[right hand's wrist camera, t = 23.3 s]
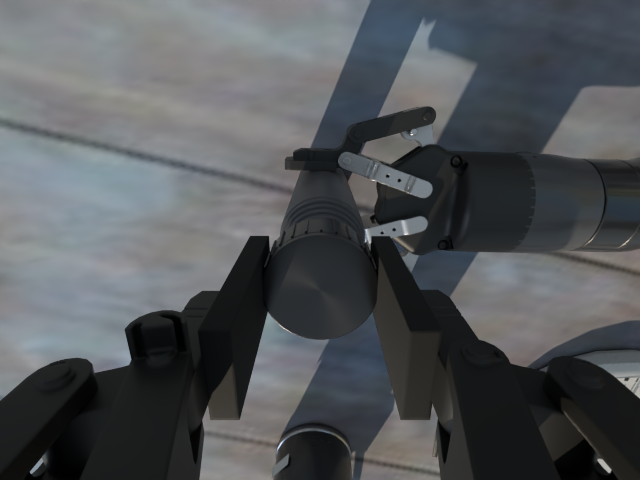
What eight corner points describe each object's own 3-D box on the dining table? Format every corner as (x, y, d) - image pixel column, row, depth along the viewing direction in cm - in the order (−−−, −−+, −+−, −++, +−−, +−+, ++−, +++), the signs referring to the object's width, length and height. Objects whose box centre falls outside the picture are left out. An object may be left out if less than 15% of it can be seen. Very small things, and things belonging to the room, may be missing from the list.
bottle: (289, 173, 32) (244, 259, 14) (330, 148, 32) (344, 202, 13) (314, 213, 34) (304, 341, 15) (354, 190, 33) (398, 294, 14)
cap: (255, 295, 15) (245, 322, 13) (285, 201, 14) (279, 216, 12) (350, 323, 16) (354, 354, 14) (389, 236, 14) (399, 256, 12)
